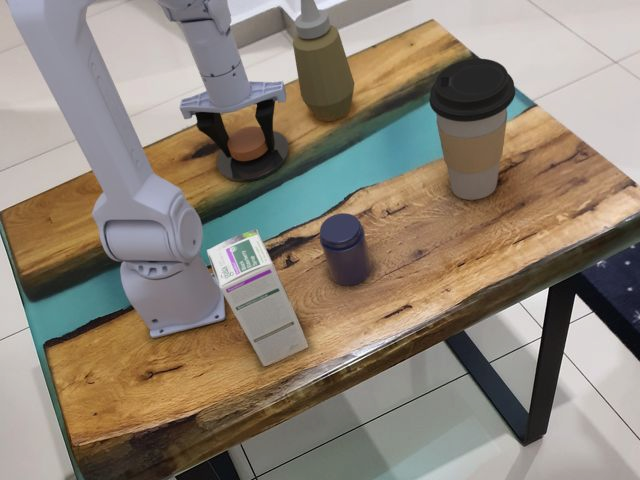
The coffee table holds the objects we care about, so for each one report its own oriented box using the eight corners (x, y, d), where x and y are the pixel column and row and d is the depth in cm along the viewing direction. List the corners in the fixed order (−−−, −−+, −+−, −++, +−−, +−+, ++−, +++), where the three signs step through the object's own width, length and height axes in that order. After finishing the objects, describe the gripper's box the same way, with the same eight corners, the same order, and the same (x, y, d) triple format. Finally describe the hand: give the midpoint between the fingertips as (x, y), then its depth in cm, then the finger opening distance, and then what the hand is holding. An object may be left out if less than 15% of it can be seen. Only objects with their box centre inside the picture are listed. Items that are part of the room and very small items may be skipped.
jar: (334, 291, 78) (321, 249, 72) (326, 260, 81) (313, 218, 75) (376, 279, 77) (366, 236, 71) (367, 249, 80) (357, 206, 75)
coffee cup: (425, 177, 86) (413, 75, 74) (489, 150, 86) (488, 44, 74) (458, 220, 80) (451, 116, 68) (527, 191, 81) (532, 83, 69)
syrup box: (310, 348, 73) (275, 261, 62) (262, 369, 73) (218, 286, 61) (294, 313, 77) (258, 225, 65) (248, 334, 76) (203, 248, 65)
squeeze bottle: (298, 109, 101) (265, -9, 86) (344, 87, 101) (320, -32, 87) (319, 134, 96) (288, 15, 81) (367, 112, 97) (345, -11, 82)
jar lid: (271, 132, 96) (269, 123, 94) (267, 158, 92) (264, 149, 91) (233, 137, 97) (230, 129, 96) (227, 163, 93) (224, 155, 92)
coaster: (220, 190, 93) (218, 187, 92) (216, 144, 99) (215, 141, 99) (294, 170, 92) (293, 167, 92) (285, 125, 99) (284, 122, 98)
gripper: (275, 37, 85) (300, 124, 96) (172, 57, 87) (207, 140, 98) (271, 67, 81) (298, 155, 92) (163, 87, 83) (201, 170, 94)
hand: (251, 149), depth 95 cm, fingers closed on jar lid, 6 cm apart
